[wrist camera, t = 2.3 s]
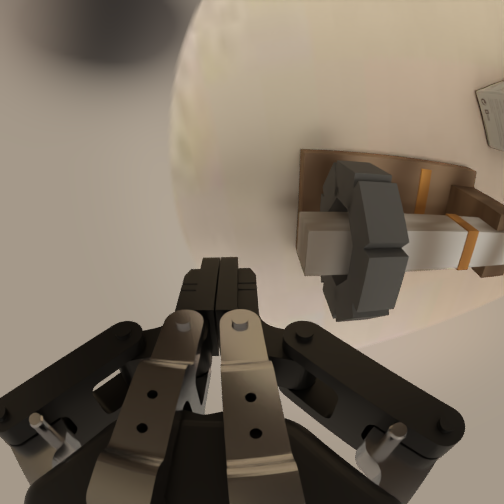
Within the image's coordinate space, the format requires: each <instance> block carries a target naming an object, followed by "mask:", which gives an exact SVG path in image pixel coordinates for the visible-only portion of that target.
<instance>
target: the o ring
mask: <svg viewBox="0 0 504 504" xmlns="http://www.w3.org/2000/svg"><path fill="white" fill-rule="evenodd" d="M391 181H392V175H391V174H389V173H387V172H385V171H384V170H382V169H380V168H378V167H377V166H375V165H373V164H371V163H369V162H356V161H340V160H337V163H336V162H334V163H333V165H332V167H331V169H330V172H329V174H328V176H327V178H326V180H325V182H324V185H323V193H324V194H321V202H320V212H348V216H349V223H350V230H351V237H352V245H353V247H352V253H351V259H350V265H349V270H348V274H345V275H321V283H322V282H324V285H323V292H324V295H325V298H326V300H327V303H328V306H329V309H330V311H331V314H332V317H333V319H334V318H336V322H341V321H353V320H364V319H371V318H376V317H380V316H385V315H389V309H394V306H395V303H396V300H397V297H398V294H399V290H400V287H401V284H402V280H403V277H404V273H405V270H406V266H407V262H408V259H409V256H408V255H407V254H406V253H405V251H404V250H403V249H402V247H403V246H405V245H406V244H408V243H409V237H408V232H407V226H406V221H405V217H404V212H403V207H402V203H401V199H400V194H399V190H398V186H397V183H391Z"/></svg>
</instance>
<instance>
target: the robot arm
mask: <svg viewBox="0 0 504 504" xmlns="http://www.w3.org/2000/svg"><path fill="white" fill-rule="evenodd" d="M219 347H220V355H221V385H222V402H223V412H218V413H213V414H208V415H205V405H206V400H207V394H208V388H209V383H210V377H211V364H212V356H219ZM118 369H119V370H120V372H121V373H119V374H118V375H116V376H115V377H114V378H112V379H111V380H109V381H108V382H106V383H105V384H104V385H102V386H101V387H99V388H98V389H97V390H95V391H93V388H94V387H95V386H96V385H97V384H98V383H99V382H101V381H102V380H103V379H105V378H106V377H108V376H109V375H111V374H112V373H114V372H115V371H116V370H118ZM278 386H279V389H280V391H281V392H282V393H283V394H284V395H285V396H287V397H288V398H289V399H290V400H291V401H293V402H294V403H295V404H296V405H298V406H299V407H300V408H301V409H303V410H304V411H305V412H306V413H308V414H309V415H310V416H311V417H313V418H314V419H315V420H316V421H318V422H319V423H320V424H322V425H323V426H324V427H326V428H327V429H328V430H330V431H331V432H332V433H334V434H335V435H336V436H338V437H339V438H341V439H342V440H343V441H344V442H346V443H347V444H349V445H350V446H351V447H353V448H354V449H356V450H357V451H356V455H355V460H356V464H357V466H358V467H359V469H361V470H362V471H363V472H364V473H365V475H366V476H367V477H366V476H365V475H363V474H362V473H361V472H359V471H358V470H357V469H355V468H354V467H353V466H351V465H350V464H349V463H348V462H346V461H345V460H344V459H343V458H341V457H340V456H339V455H338V454H336V453H335V452H334V451H333V450H332V449H330V448H329V447H328V446H327V445H325V444H324V443H323V442H322V441H321V440H319V439H318V438H317V437H316V436H315V435H314V434H312V433H311V432H310V431H309V430H308V429H306V428H305V427H303V426H301V425H300V424H298V423H296V422H294V421H291V420H289V419H286V418H284V414H283V409H282V405H281V400H280V396H279V391H278ZM464 432H465V423H464V420H463V417H462V416H461V414H460V413H459V412H458V411H457V410H455V409H454V408H452V407H450V406H449V405H447V404H445V403H443V402H442V401H440V400H438V399H437V398H435V397H433V396H432V395H430V394H428V393H426V392H425V391H423V390H422V389H420V388H418V387H417V386H415V385H413V384H412V383H410V382H408V381H407V380H405V379H403V378H402V377H400V376H398V375H397V374H395V373H393V372H392V371H390V370H388V369H387V368H385V367H383V366H382V365H380V364H379V363H377V362H375V361H374V360H372V359H371V358H369V357H368V356H366V355H364V354H362V353H361V352H360V351H358V350H356V349H355V348H353V347H352V346H350V345H348V344H347V343H345V342H344V341H342V340H341V339H339V338H337V337H336V336H334V335H333V334H331V333H330V332H328V331H326V330H325V329H323V328H322V327H320V326H319V325H317V324H315V323H312V322H309V321H297V322H293V323H291V324H289V325H288V326H287V327H286V328H285V329H280V328H276V327H272V326H270V325H268V324H266V323H265V322H264V321H262V319H261V318H260V316H259V309H258V297H257V285H256V275H255V273H254V272H253V271H252V270H251V268H238V257H221V261H220V258H203V260H202V265H201V269H191V270H190V271H189V272H188V273H187V274H186V275H185V277H184V280H183V285H182V288H181V291H180V295H179V299H178V302H177V306H176V309H175V312H173V313H172V314H170V315H169V316H168V317H167V318H166V319H165V321H164V324H163V326H161V327H158V328H155V329H150V330H145V331H142V328H141V326H140V325H138V324H137V323H135V322H132V321H124V322H119V323H117V324H115V325H113V326H111V327H110V328H108V329H107V330H105V331H104V332H102V333H101V334H99V335H97V336H96V337H94V338H93V339H91V340H90V341H88V342H86V343H85V344H83V345H82V346H80V347H79V348H77V349H75V350H74V351H72V352H71V353H69V354H68V355H66V356H64V357H63V358H61V359H60V360H58V361H57V362H55V363H54V364H52V365H50V366H49V367H47V368H46V369H44V370H43V371H41V372H40V373H38V374H36V375H35V376H34V377H32V378H30V379H29V380H27V381H26V382H24V383H23V384H21V385H20V386H18V387H16V388H15V389H14V390H12V391H10V392H9V393H8V394H6V395H4V396H3V397H1V398H0V437H1V438H2V439H3V440H4V441H5V442H6V443H7V444H8V445H9V446H10V447H11V449H12V451H13V453H14V455H15V457H16V459H17V461H18V463H19V465H20V467H21V469H22V471H23V473H24V475H25V476H26V478H27V480H28V482H29V483H30V485H31V486H30V487H29V489H28V491H27V493H26V496H25V501H24V504H407V503H408V502H409V501H410V499H411V498H412V496H413V495H414V494H415V492H416V491H417V490H418V488H419V487H420V485H421V484H422V482H423V481H424V479H425V478H426V476H427V475H428V473H429V472H430V470H431V469H432V467H433V465H434V464H435V462H436V461H437V460H438V459H439V458H441V457H442V456H443V455H444V454H445V453H446V452H448V451H449V450H450V449H451V448H452V447H453V446H454V445H455V444H456V443H458V441H460V440H461V438H462V437H463V435H464Z"/></svg>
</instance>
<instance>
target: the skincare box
mask: <svg viewBox="0 0 504 504" xmlns="http://www.w3.org/2000/svg"><path fill="white" fill-rule="evenodd" d="M476 94H477V98H478V101H479V104H480V108H481V112H482V116H483V121H484V126H485V130H486V135H487V140H488V145H489V146H490V147H492V148H494V149H498V150H501V151H504V81H501V82H499V83H496V84H493V85H490V86H488V87H486V88H484V89H480V90H477V91H476Z"/></svg>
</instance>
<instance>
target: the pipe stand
mask: <svg viewBox="0 0 504 504" xmlns="http://www.w3.org/2000/svg"><path fill="white" fill-rule="evenodd" d="M337 160H340V161H356V162H369V163H371V164H373V165H375V166H377V167H378V168H380V169H382V170H384V171H385V172H387V173H389V174H391V175H392V181H391V183H397V186H398V190H399V194H400V199H401V203H402V207H403V212H404V217H405V221H406V226H407V232H408V237H409V243H408V244H406V245H405V246H403V247H402V249H403V250H404V251H405V253H406V254H407V255H408V256H409V259H408V262H407V266H406V270H405V272H406V271H423V270H438V269H453V268H456V269H457V270H467V269H468V267H471V268H472V269H473V270H474V271H475V272H476V273H477V274H478V275H479V276H480V277H481V278H484V277H493V276H501V275H503V274H504V205H503V204H501V203H500V202H498V201H496V200H494V199H493V198H491V197H489V196H488V195H486V194H484V193H482V192H481V191H479V190H477V189H475V188H474V183H475V178H476V171H474V170H472V169H470V168H467V167H463V166H458V165H452V164H447V163H441V162H434V161H428V160H421V159H414V158H407V157H399V156H390V155H381V154H370V153H359V152H346V151H330V150H308V149H301V154H300V181H299V202H298V221H297V237H296V250H297V254H298V257H299V260H300V263H301V266H302V270H303V273H304V276H320V275H345V274H348V270H349V265H350V259H351V253H352V247H353V245H352V237H351V230H350V223H349V216H348V212H320V202H321V194H324V193H323V185H324V182H325V180H326V178H327V176H328V174H329V172H330V169H331V167H332V165H333V163H334V162H336V163H337Z"/></svg>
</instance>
